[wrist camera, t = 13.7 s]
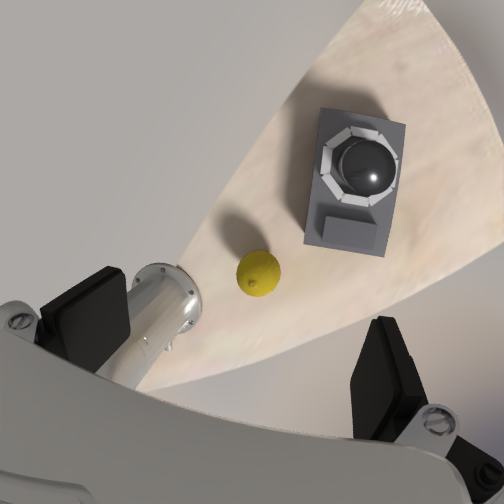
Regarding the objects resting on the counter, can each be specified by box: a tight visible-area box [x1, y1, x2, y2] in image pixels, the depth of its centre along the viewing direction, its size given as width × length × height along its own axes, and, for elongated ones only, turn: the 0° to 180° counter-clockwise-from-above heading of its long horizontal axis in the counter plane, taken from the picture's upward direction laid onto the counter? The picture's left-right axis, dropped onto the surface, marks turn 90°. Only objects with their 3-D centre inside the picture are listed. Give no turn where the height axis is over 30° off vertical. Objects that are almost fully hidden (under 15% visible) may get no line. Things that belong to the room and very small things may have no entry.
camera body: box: [303, 108, 406, 257], centre depth 33 cm, size 16×10×6 cm, turn 174°
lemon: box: [236, 251, 281, 297], centre depth 38 cm, size 6×6×8 cm
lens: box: [337, 140, 396, 195], centre depth 28 cm, size 5×5×7 cm
